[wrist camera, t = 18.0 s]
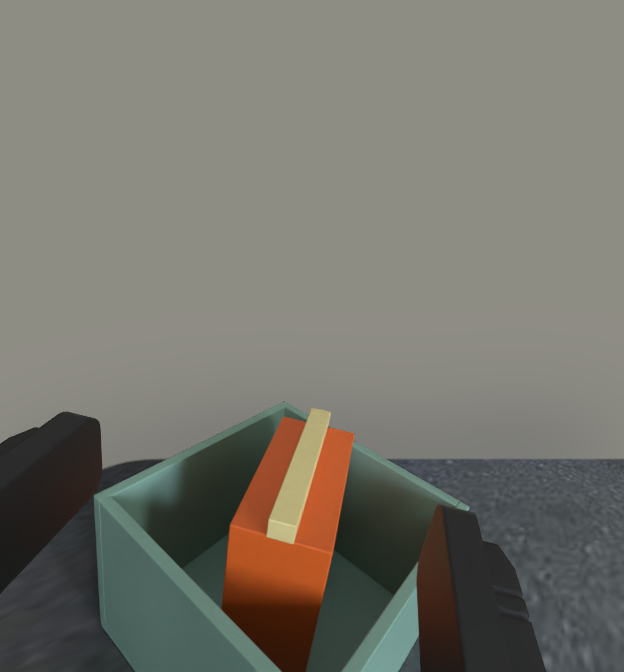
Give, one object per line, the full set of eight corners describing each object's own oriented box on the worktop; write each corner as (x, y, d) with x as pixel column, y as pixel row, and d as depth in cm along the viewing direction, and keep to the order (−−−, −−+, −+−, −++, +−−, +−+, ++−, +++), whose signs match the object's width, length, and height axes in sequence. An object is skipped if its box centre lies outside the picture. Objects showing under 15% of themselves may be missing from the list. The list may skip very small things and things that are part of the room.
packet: (212, 686, 22) (230, 508, 18) (264, 545, 31) (285, 400, 26) (296, 714, 22) (336, 538, 17) (326, 562, 30) (358, 418, 26)
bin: (100, 624, 25) (92, 495, 21) (270, 500, 35) (284, 400, 32) (282, 873, 17) (319, 737, 14) (427, 619, 28) (469, 506, 24)
